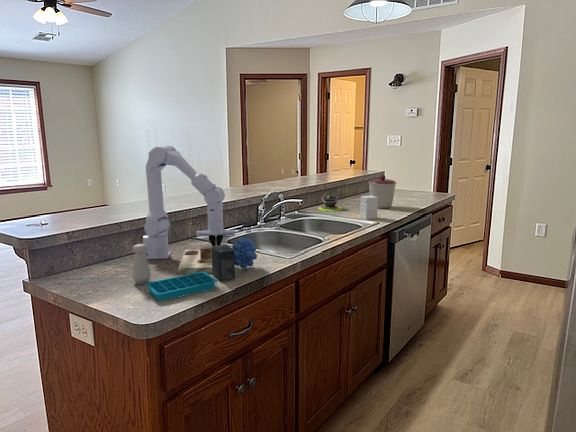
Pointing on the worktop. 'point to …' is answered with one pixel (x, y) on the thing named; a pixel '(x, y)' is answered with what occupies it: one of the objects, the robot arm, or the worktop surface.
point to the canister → (382, 191)
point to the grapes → (244, 253)
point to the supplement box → (368, 207)
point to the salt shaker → (141, 265)
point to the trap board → (194, 263)
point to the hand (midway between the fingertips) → (216, 254)
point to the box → (223, 262)
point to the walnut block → (205, 252)
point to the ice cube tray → (181, 285)
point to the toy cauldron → (330, 203)
